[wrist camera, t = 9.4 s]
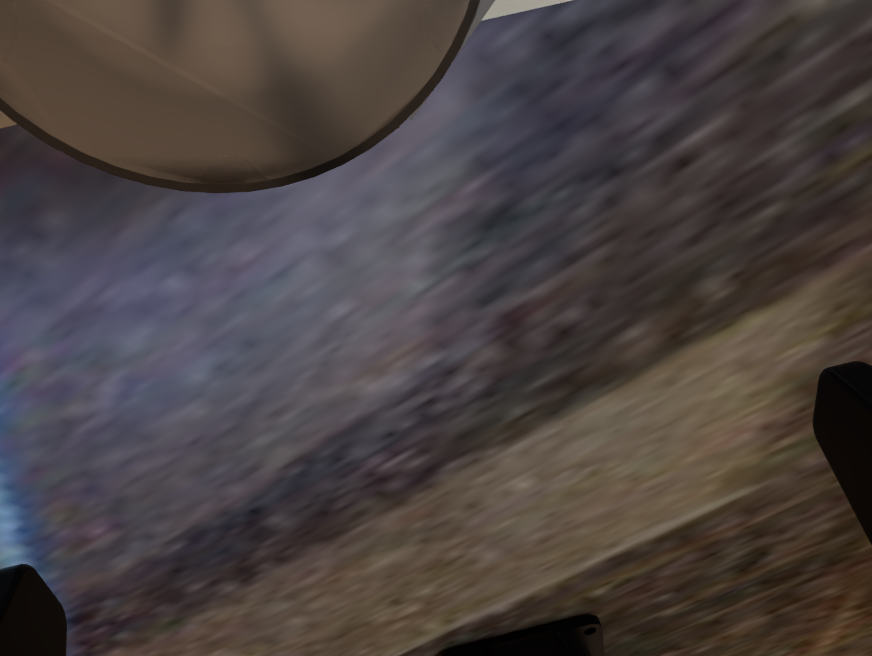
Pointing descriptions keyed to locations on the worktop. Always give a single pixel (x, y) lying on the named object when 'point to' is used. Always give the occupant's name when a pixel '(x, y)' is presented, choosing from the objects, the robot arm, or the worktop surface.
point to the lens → (222, 82)
